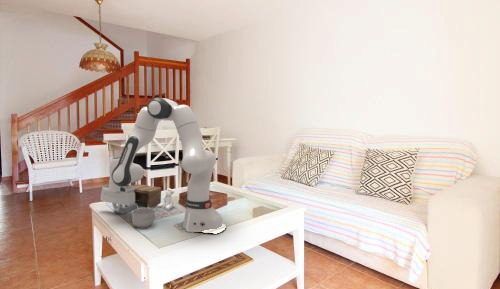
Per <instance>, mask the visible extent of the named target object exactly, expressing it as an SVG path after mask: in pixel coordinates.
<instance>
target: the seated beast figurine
mask: <svg viewBox="0 0 500 289" xmlns="http://www.w3.org/2000/svg"><path fill="white" fill-rule="evenodd" d="M174 193H175V191H174V190H173V189H172V188H169V187H168V188H167V189H166V191H165V196H164V198H163V202H161V203H160V204H158V205H157V206H156V207H157V209H165V211H169V210H171V209H172V208H174V206H175V202H174V200H173V197H172V195H173V194H174Z"/></svg>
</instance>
